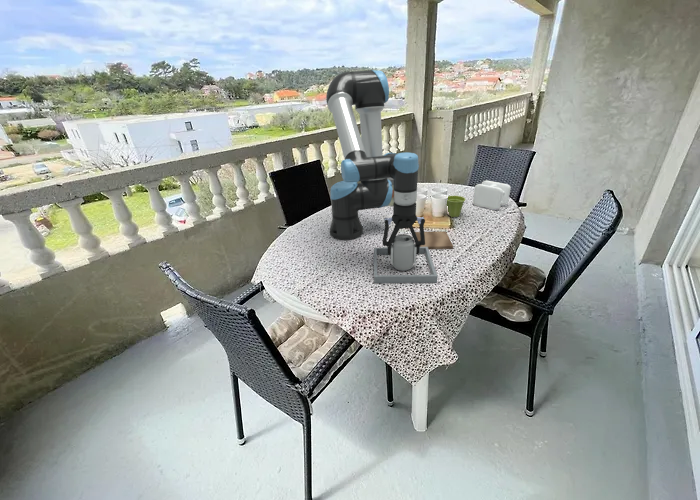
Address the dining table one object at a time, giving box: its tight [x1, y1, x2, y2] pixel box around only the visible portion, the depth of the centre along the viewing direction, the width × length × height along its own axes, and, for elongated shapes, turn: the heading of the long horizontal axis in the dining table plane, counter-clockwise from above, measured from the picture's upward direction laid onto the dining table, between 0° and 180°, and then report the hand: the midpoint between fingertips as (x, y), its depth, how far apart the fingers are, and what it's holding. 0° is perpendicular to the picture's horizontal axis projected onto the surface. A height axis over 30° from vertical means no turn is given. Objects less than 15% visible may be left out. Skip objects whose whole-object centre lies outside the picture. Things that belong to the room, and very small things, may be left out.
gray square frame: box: [373, 246, 438, 284], centre depth 114 cm, size 21×21×2 cm
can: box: [392, 233, 415, 272], centre depth 112 cm, size 8×8×12 cm
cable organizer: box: [472, 179, 511, 211], centre depth 161 cm, size 15×11×12 cm
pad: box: [415, 230, 454, 250], centre depth 131 cm, size 14×14×1 cm
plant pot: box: [446, 195, 466, 218], centre depth 153 cm, size 9×9×9 cm
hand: (402, 261), depth 114 cm, fingers closed on can, 7 cm apart
